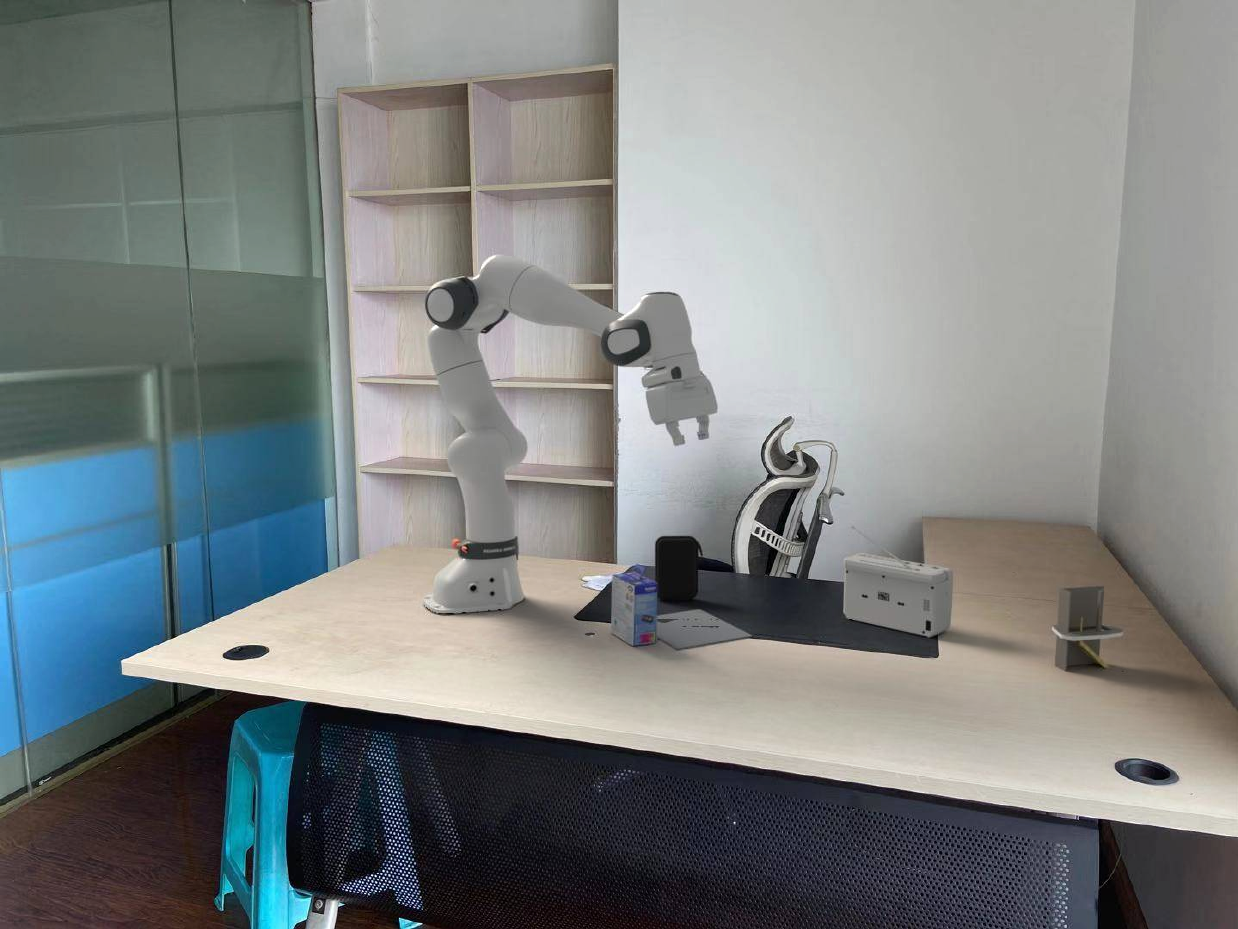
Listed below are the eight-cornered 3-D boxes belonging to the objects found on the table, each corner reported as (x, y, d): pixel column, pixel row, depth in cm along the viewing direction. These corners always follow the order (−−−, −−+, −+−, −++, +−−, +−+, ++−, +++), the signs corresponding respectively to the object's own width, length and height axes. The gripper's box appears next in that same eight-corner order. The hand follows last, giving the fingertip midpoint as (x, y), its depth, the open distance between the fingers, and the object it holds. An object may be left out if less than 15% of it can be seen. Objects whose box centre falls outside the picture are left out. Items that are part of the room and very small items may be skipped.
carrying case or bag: (701, 598, 212) (702, 534, 209) (703, 601, 208) (703, 537, 206) (654, 598, 211) (654, 534, 209) (655, 602, 208) (655, 537, 206)
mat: (677, 650, 177) (677, 648, 177) (629, 621, 195) (629, 620, 194) (752, 637, 184) (752, 635, 184) (699, 610, 202) (699, 609, 202)
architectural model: (1186, 683, 159) (1193, 600, 157) (1055, 695, 155) (1061, 610, 153) (1106, 646, 179) (1111, 571, 176) (987, 655, 174) (991, 579, 172)
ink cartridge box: (658, 643, 181) (658, 570, 179) (633, 648, 178) (633, 574, 176) (634, 629, 190) (634, 559, 188) (610, 633, 187) (609, 562, 185)
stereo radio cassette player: (952, 631, 187) (956, 533, 184) (934, 641, 181) (938, 540, 178) (857, 611, 201) (860, 519, 198) (838, 619, 195) (840, 525, 192)
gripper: (690, 373, 192) (704, 438, 193) (635, 379, 176) (651, 451, 176) (717, 366, 189) (731, 433, 189) (663, 372, 172) (679, 445, 172)
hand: (692, 442), depth 182 cm, fingers open, 8 cm apart
